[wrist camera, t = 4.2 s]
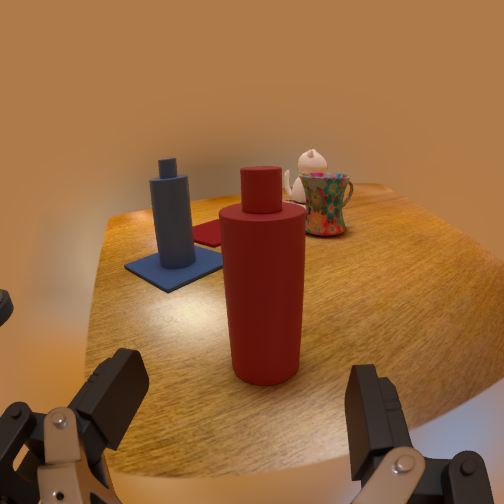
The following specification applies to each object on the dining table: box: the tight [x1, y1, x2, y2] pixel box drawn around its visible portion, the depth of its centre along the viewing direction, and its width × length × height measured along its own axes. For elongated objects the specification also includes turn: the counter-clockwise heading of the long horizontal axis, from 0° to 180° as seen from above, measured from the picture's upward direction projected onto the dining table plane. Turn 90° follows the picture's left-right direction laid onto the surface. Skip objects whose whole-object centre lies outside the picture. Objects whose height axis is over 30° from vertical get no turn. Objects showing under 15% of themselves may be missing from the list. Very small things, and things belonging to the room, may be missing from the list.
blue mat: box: [124, 245, 223, 293], centre depth 41 cm, size 12×12×1 cm
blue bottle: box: [150, 158, 196, 269], centre depth 38 cm, size 5×5×14 cm
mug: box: [299, 173, 353, 236], centre depth 52 cm, size 12×9×11 cm
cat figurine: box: [284, 149, 328, 203], centre depth 77 cm, size 9×12×15 cm
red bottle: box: [219, 166, 306, 386], centre depth 19 cm, size 5×5×14 cm
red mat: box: [192, 219, 221, 247], centre depth 55 cm, size 12×12×1 cm
